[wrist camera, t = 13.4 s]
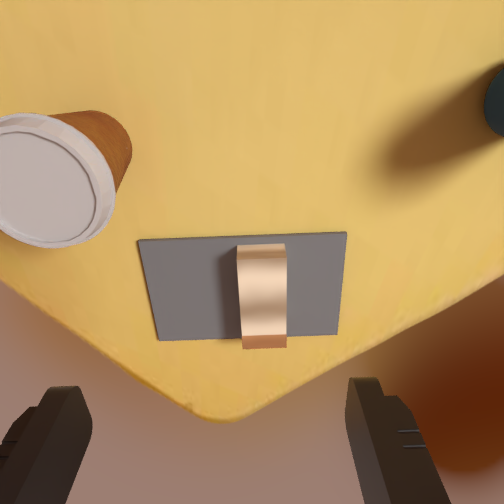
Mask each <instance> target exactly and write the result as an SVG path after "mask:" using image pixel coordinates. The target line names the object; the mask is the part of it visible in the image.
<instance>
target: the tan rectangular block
mask: <svg viewBox="0 0 504 504" xmlns="http://www.w3.org/2000/svg"><path fill="white" fill-rule="evenodd" d="M237 272H238V287H239V301H240V315H241V330H242V347H243V349H261V348H286V341H287V334H286V314H287V256H286V250H285V244H284V243H282V244H256V245H237Z"/></svg>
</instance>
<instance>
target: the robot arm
mask: <svg viewBox="0 0 504 504" xmlns="http://www.w3.org/2000/svg"><path fill="white" fill-rule="evenodd" d="M345 422H346V430H347V434H348V438H349V442H350V446H351V450H352V454H353V459H354V463H355V466H356V470H357V475H358V479H359V482H360V487H361V491H362V495H363V498H364V502H365V504H451V502H450V500H449V497H448V495H447V493H446V491H445V488H444V486H443V484H442V482H441V479H440V477H439V474H438V472H437V470H436V467H435V465H434V463H433V461H432V458H431V456H430V454H429V451H428V449H427V448H426V446H425V442H424V440H423V437H422V435H421V433H419V428H418V426H417V424H416V421H415V419H414V417H413V414H412V412H411V411H410V409H408V407H407V406H406V405H405V404H404V403H403V402H402V401H401V399H400V398H399V397H397V396H384V394H383V391H382V388H381V386H380V383H379V381H378V379H377V378H376V377H356V378H350V379H349V384H348V392H347V400H346V408H345ZM91 434H92V418H91V415H90V413H89V410H88V407H87V405H86V402H85V399H84V397H83V394H82V391H81V389H80V388H79V387H78V386H61V387H60V386H59V387H50V388H49V389H48V390H47V391H46V393H45V394H44V396H43V398H42V399H41V401H40V403H39V405H38V406H37V407H29V408H28V409H27V410H26V411H25V412H24V413H23V414H22V415H21V416H20V417H19V418H18V419H17V420H16V421H15V422H14V423H13V424H12V426H11V427H10V429H9V431H8V432H7V434H6V435H5V437H4V439H3V441H2V444H1V445H0V504H65V503H66V501H67V498H68V495H69V492H70V490H71V488H72V485H73V483H74V480H75V477H76V475H77V472H78V470H79V467H80V465H81V462H82V459H83V457H84V454H85V452H86V449H87V447H88V444H89V442H90V439H91Z"/></svg>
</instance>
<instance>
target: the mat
mask: <svg viewBox="0 0 504 504" xmlns="http://www.w3.org/2000/svg"><path fill="white" fill-rule="evenodd" d="M346 240H347V232H322V233H296V234H270V235H244V236H217V237H191V238H165V239H139V241H138V243H139V248H140V253H141V257H142V262H143V267H144V271H145V276H146V281H147V285H148V290H149V295H150V299H151V304H152V309H153V313H154V318H155V323H156V328H157V332H158V337H159V341H176V340H205V339H233V338H242V330H241V315H240V301H239V287H238V272H237V245H256V244H282V243H284V244H285V250H286V256H287V314H286V334H287V337H290V336H319V335H337V332H338V322H339V312H340V301H341V291H342V281H343V271H344V260H345V250H346Z"/></svg>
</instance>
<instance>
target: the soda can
mask: <svg viewBox="0 0 504 504" xmlns="http://www.w3.org/2000/svg"><path fill="white" fill-rule="evenodd" d="M484 114H485V118H486V121H487V123H488V125H489V126H490V128H491V129H492V130H493V131H494V132H495V133H497V134H499V135H501V136H503V137H504V68H503V69H502V70H501V71H500V72H499V73H498V74H497V75H496V77H495V78H494V79H493V81H492V82H491V84H490V86H489V88H488V90H487V93H486V96H485V101H484Z"/></svg>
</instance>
